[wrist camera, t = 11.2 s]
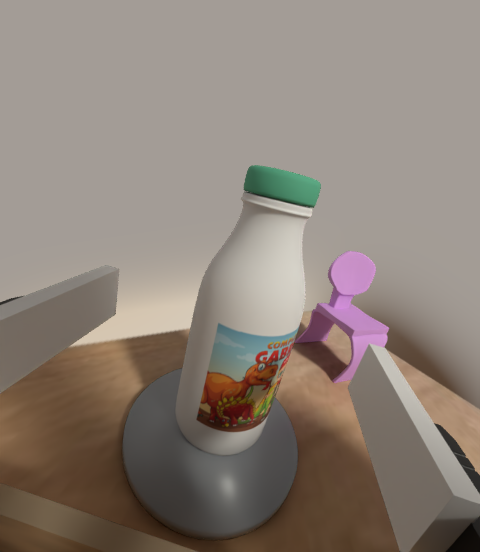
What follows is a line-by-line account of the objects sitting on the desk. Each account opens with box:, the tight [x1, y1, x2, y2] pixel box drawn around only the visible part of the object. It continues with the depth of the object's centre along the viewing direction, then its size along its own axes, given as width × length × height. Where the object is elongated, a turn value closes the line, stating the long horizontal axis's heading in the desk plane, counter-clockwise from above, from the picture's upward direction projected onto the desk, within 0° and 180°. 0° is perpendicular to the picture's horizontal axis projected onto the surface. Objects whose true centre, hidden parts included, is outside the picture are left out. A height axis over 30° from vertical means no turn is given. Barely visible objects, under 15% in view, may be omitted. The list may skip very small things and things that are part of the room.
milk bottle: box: [175, 165, 321, 456], centre depth 19 cm, size 8×8×20 cm
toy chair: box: [295, 251, 389, 383], centre depth 33 cm, size 8×9×15 cm
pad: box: [122, 368, 298, 540], centre depth 21 cm, size 14×14×1 cm
